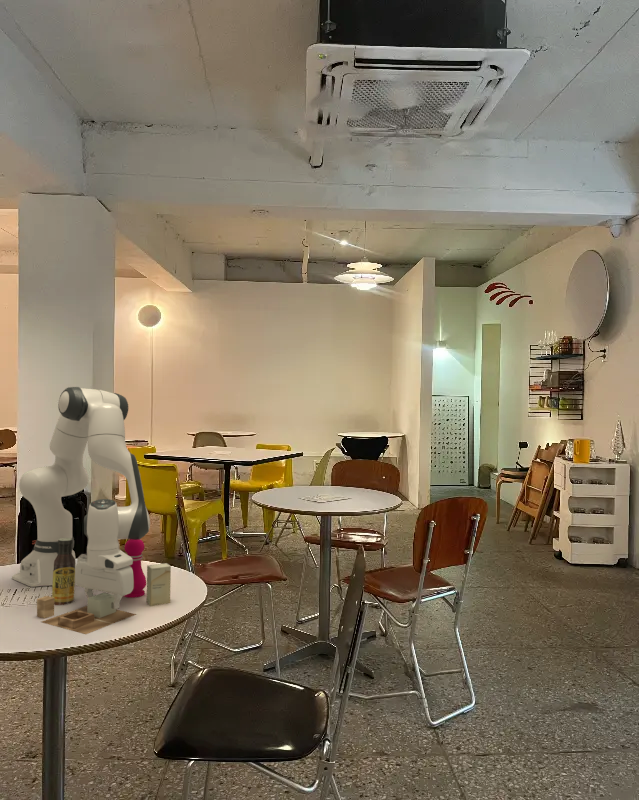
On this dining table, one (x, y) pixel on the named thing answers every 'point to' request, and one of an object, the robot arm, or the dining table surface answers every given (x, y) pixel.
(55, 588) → the sauce bottle
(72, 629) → the board
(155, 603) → the skincare box
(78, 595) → the dining table surface
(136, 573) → the pepper mill
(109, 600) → the housing
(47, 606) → the oak peg
